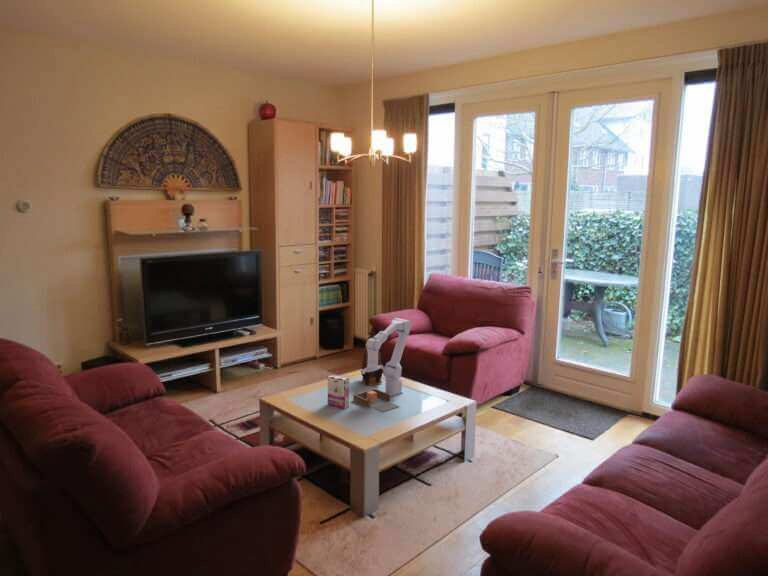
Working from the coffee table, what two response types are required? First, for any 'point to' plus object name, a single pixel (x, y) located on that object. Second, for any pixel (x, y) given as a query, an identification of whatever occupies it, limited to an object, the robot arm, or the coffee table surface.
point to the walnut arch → (360, 397)
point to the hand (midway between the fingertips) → (372, 383)
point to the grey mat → (386, 406)
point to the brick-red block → (372, 396)
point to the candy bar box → (338, 391)
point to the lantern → (372, 374)
